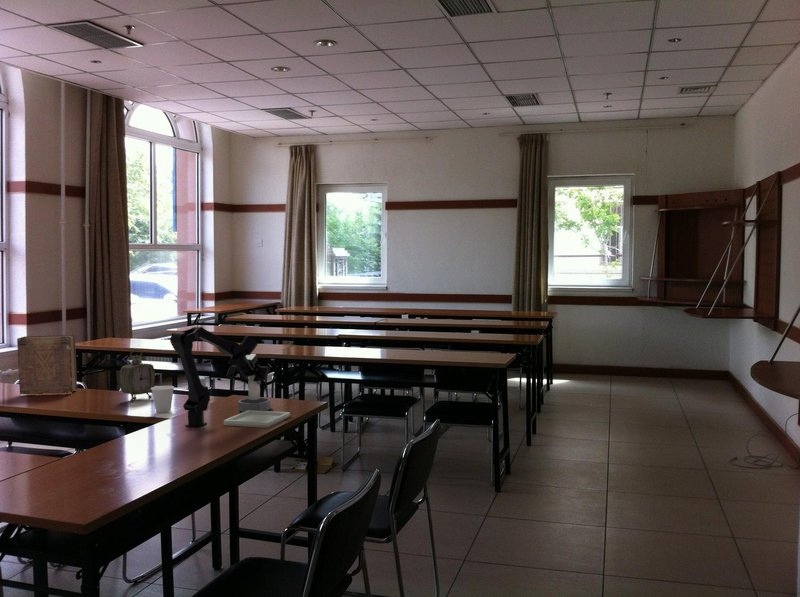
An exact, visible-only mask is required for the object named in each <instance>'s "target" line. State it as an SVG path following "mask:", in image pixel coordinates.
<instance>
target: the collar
mask: <svg viewBox="0 0 800 597" xmlns="http://www.w3.org/2000/svg"><path fill="white" fill-rule="evenodd" d="M269 409H270V410H271V399H270V398H267V397H260V399H257V400H249V397H247V398H242V399H240V400H238V412H240V411H241V412H240V413H243V412H245V411H248V410H253V411H269Z"/></svg>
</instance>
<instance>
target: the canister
mask: <svg viewBox="0 0 800 597" xmlns="http://www.w3.org/2000/svg"><path fill="white" fill-rule="evenodd" d="M254 378H255V376H254V375H253V376H250V377H248V384H247V386H248V398H249V400H257V399H260V398H261V387H260V386H261V384H260V385H258V384H257V383H256V382H255V381H253V380H254Z"/></svg>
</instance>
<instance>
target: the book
mask: <svg viewBox="0 0 800 597" xmlns="http://www.w3.org/2000/svg"><path fill="white" fill-rule="evenodd" d="M16 344H17V345H16V346H17V364H18V367H17V368H18V382H19V383H18V385H19V395H20V394H43V393H65V392H66V393H68V392H73V391H74V390H77V391H78V382H77V381H78V380H77V379H78V378H77V359H76V358H77V355H76V336H75V334H60V335H58V334H57V335H30V336H29V335H28V336H21V337H18V338H16ZM73 393H74V392H73Z"/></svg>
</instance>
